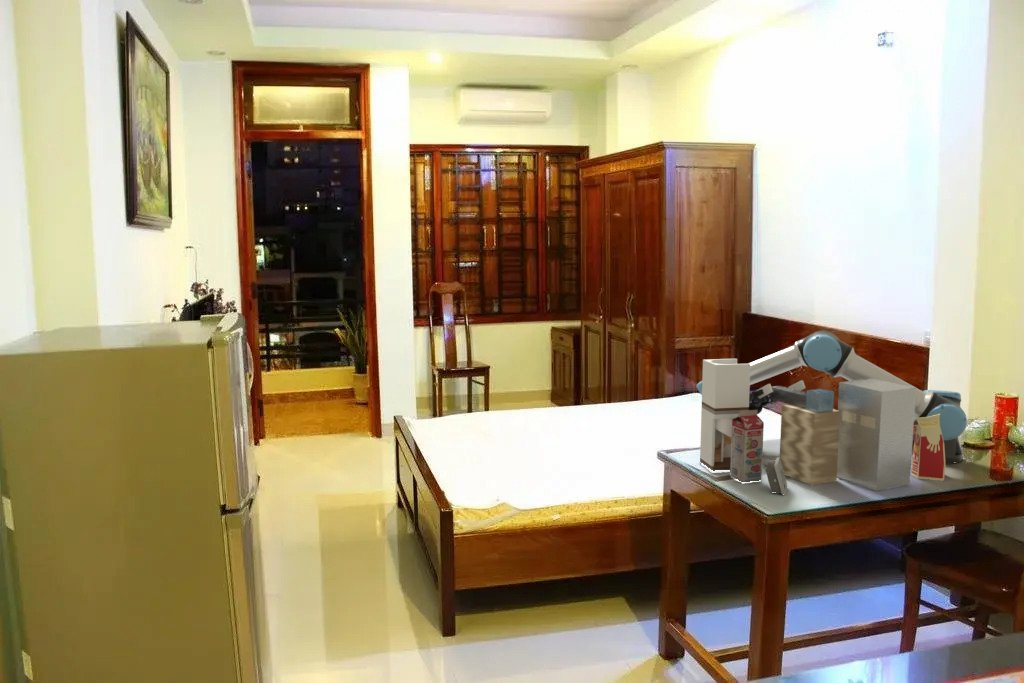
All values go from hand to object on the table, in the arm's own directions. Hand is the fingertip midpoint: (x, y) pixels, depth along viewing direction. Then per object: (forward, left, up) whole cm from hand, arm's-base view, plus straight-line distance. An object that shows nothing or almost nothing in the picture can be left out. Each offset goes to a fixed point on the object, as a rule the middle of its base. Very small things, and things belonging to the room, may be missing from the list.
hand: (787, 385), depth 257 cm
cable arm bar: (-3, +4, -5) cm, 8 cm away
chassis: (-25, +9, -27) cm, 38 cm away
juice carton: (+13, +15, -27) cm, 34 cm away
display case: (+19, +3, -27) cm, 34 cm away
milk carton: (-43, +1, -27) cm, 51 cm away
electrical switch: (+5, +24, -27) cm, 37 cm away
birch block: (-6, +8, -27) cm, 29 cm away
